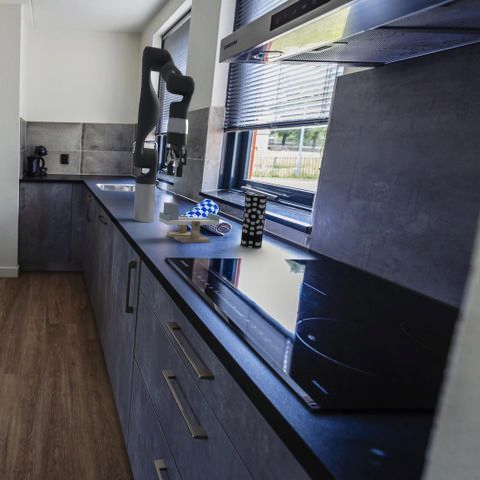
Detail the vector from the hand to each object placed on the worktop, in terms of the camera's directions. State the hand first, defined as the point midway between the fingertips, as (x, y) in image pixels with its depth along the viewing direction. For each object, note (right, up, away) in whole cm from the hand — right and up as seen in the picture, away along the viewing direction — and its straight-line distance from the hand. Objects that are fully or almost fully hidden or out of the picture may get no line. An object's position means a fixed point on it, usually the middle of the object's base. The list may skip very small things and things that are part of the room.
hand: (174, 176), depth 162 cm
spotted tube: (+29, -26, +7) cm, 40 cm away
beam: (+5, -17, +7) cm, 19 cm away
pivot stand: (+4, -23, +9) cm, 25 cm away
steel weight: (-2, -16, +3) cm, 16 cm away
